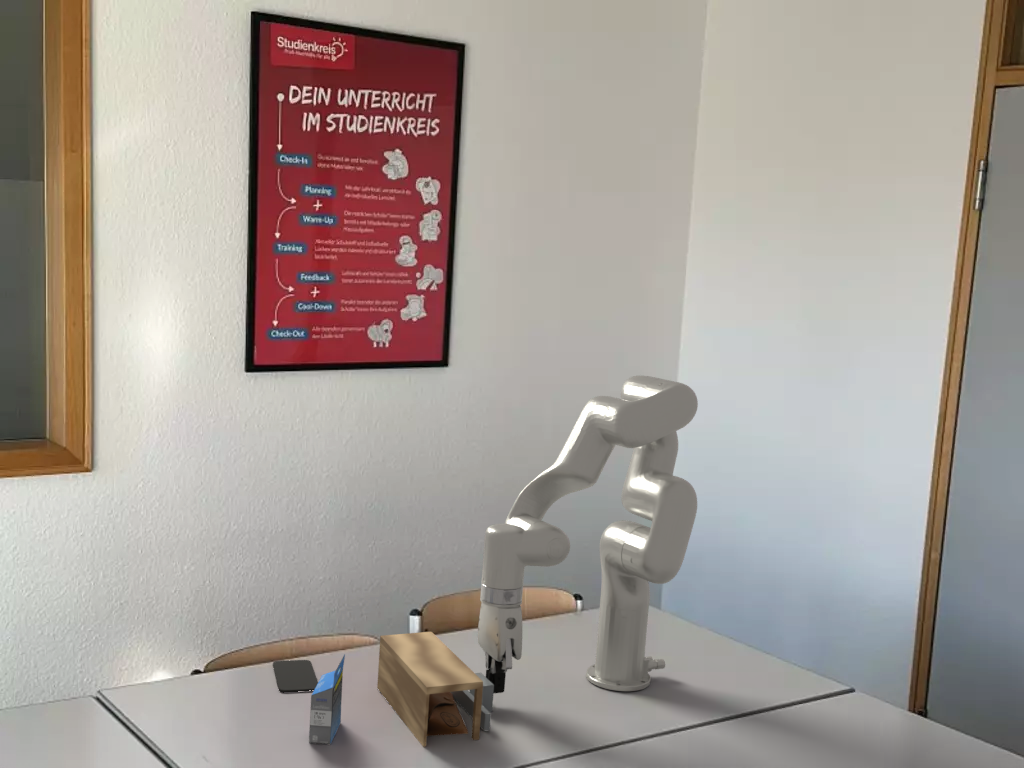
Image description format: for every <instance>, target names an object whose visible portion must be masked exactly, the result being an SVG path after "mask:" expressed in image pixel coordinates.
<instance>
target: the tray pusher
mask: <svg viewBox="0 0 1024 768" xmlns="http://www.w3.org/2000/svg"><path fill="white" fill-rule="evenodd" d="M474 673H475V674H476V675H477V676H478V677H479V678H480V679H481V680H482V681H483V692H482V706H481V720H480V729H482V730H483V731H484V732H485V731H486V732H487V731H488V732H489V731H490V730H491V727H490V726H491V716H492V712H493V705H494V704H493V701H494V694H493V692H494V684H492V683H491V682H490V681H489V680H488V679H487V678H486V675H484V674H483V673H482V672H474ZM451 693H452V694H453V697H454V700H455V702H456V704H458V705H459V706H460V707H461V708H462V709H463V711H465V712H466V713H467V714H468V716H469V717H470V718H471V719H472V720H473V708H474V693H475V689H472V690H463V691H454V692H451Z"/></svg>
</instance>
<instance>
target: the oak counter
mask: <svg viewBox="0 0 1024 768" xmlns="http://www.w3.org/2000/svg"><path fill="white" fill-rule="evenodd" d="M379 637H380V638H379V654H378V668H377V669H378V671H377V684H376V685H377V686H376V687H377V688H378V689H379V691H380V692H381V693H382V694H381V693H380V692H379V691H378V692H379V693H380V694H381V695H383V696H384V697H385V698H386V699H385V698H384V697H383V696H382V697H383V698H384V699H385V701H386V700H387V701H388V702H389V703H388V702H387V701H386V702H387V703H388V704H389V705H391V706H392V707H393V708H392V707H391V706H390V707H391V708H392V709H393V711H394V710H395V711H396V712H395V711H394V712H395V713H396V715H399V716H398V717H399V719H401V721H402V722H403V723H404V725H405V726H406V727H407V728H408V729H409V731H410V732H411V733H412V735H413V736H414V737H415V738H416V739H417V741H418V742H419V743H420V745H421V746H422V747H423V748H425V747H427V740H428V738H427V737H428V736H427V725H428V710H429V694H435V693H444V692H454V691H463V690H468V691H470V690H472V689H475V693H474V708H473V719H472V723H471V740H473V741H479V740H480V731H481V727H480V720H481V706H482V692H483V681H482V680H481V679H480V678H479V677H478V676H477V675H476V674H475V673H476V672H474V671H473V670H472V669H471V668H470V667H469V666H467V664H466V663H464V662H463V660H462V659H460V658H459V656H458V655H456V654H455V653H454V652H453V651H452V650H451V649H450V647H448V646H447V644H445V643H444V642H443V641H442V640H441V639H440V638H439V637H438V636H437V635H436V634H434V633H433V631H423V632H422V631H421V632H411V633H409V632H408V633H399V634H396V633H395V634H385V635H380V636H379ZM378 689H377V690H378Z"/></svg>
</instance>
